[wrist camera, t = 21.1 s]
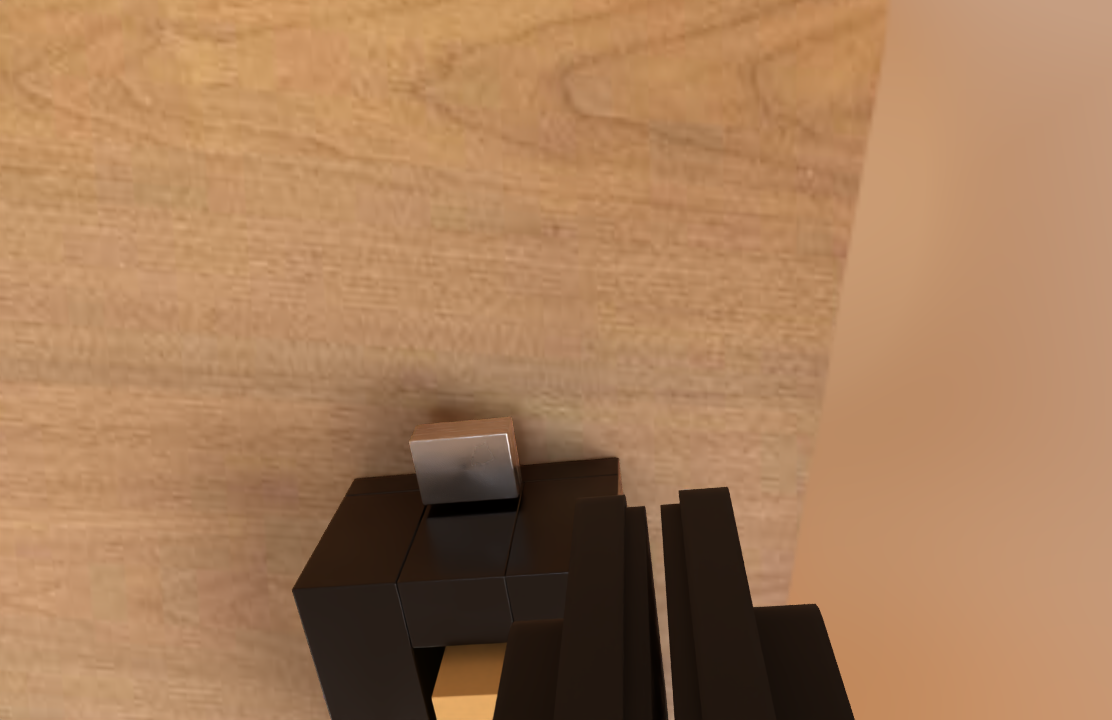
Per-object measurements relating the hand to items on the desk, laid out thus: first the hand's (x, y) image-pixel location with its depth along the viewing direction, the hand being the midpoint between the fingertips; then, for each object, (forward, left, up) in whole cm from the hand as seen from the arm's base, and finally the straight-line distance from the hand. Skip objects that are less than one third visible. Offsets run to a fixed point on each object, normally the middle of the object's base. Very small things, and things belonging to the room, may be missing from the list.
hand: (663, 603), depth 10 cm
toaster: (+8, +20, -25) cm, 33 cm away
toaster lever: (+8, +10, -23) cm, 27 cm away
